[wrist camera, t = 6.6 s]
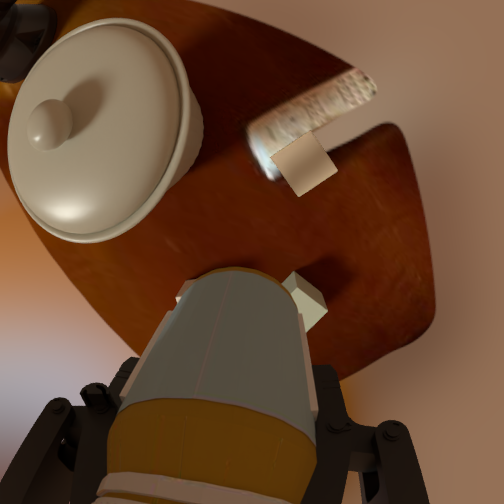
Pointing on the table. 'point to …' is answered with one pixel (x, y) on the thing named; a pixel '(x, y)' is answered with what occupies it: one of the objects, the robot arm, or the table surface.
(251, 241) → the table surface
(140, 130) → the canister
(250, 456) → the bottle
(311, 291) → the sage cube
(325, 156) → the birch cube
